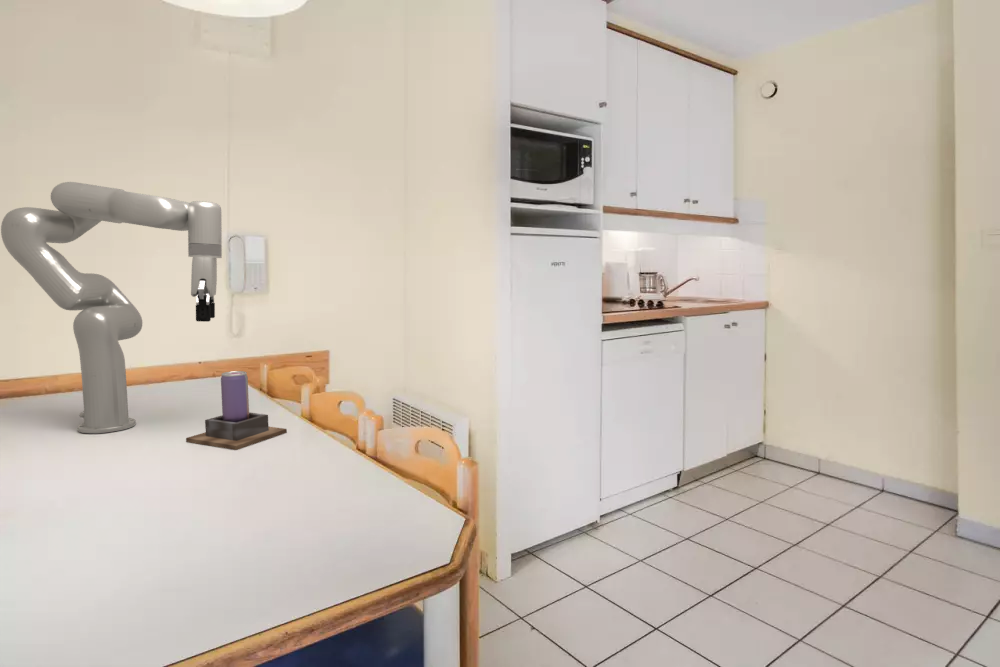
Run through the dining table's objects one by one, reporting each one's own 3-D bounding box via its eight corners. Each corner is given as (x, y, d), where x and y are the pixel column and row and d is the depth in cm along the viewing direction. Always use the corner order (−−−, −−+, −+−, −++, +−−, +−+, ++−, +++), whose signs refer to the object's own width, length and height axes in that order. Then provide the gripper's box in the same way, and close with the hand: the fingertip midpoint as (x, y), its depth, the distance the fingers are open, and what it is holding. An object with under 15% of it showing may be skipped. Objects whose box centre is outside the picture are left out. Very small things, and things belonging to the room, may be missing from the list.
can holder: (186, 442, 142) (185, 421, 141) (239, 426, 156) (238, 407, 156) (236, 450, 135) (235, 428, 135) (286, 432, 150) (286, 413, 149)
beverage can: (240, 437, 142) (237, 375, 141) (218, 435, 143) (215, 374, 142) (254, 430, 148) (252, 371, 147) (233, 429, 149) (230, 370, 148)
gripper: (193, 251, 156) (194, 316, 157) (182, 250, 139) (183, 322, 141) (224, 253, 158) (225, 316, 160) (218, 252, 142) (218, 323, 144)
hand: (205, 319), depth 151 cm, fingers open, 9 cm apart
